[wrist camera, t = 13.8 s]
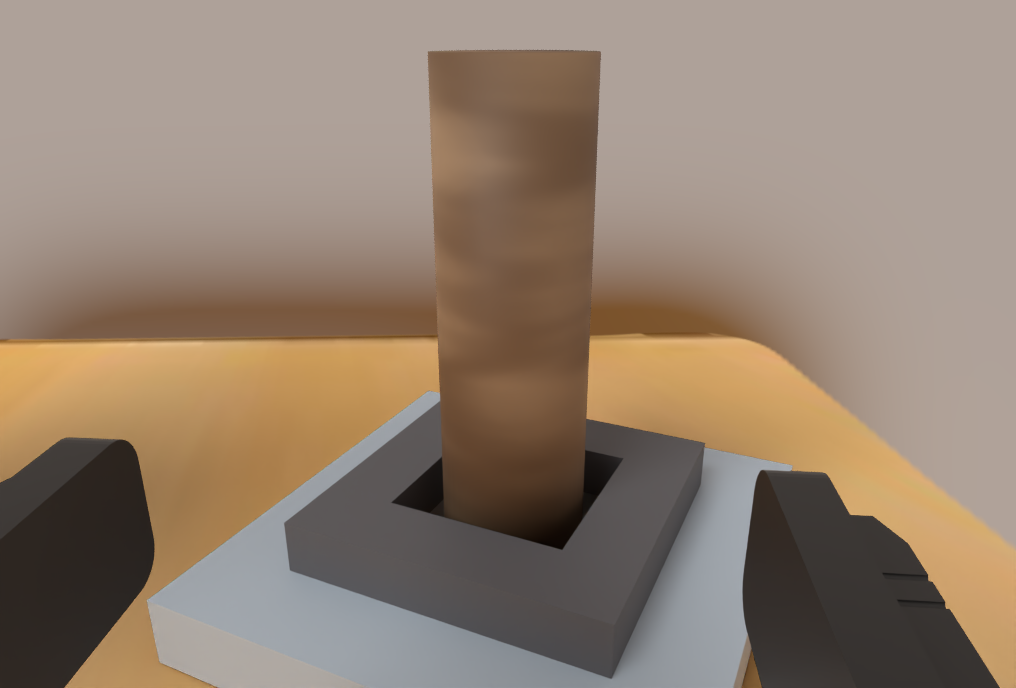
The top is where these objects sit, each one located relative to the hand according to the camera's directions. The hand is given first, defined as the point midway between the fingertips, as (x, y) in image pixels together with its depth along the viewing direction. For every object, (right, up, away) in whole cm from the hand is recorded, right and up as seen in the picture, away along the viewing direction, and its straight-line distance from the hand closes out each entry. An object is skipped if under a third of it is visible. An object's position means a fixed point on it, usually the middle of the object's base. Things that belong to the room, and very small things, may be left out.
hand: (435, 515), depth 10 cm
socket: (+1, -5, +14) cm, 15 cm away
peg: (+1, -5, +14) cm, 15 cm away
